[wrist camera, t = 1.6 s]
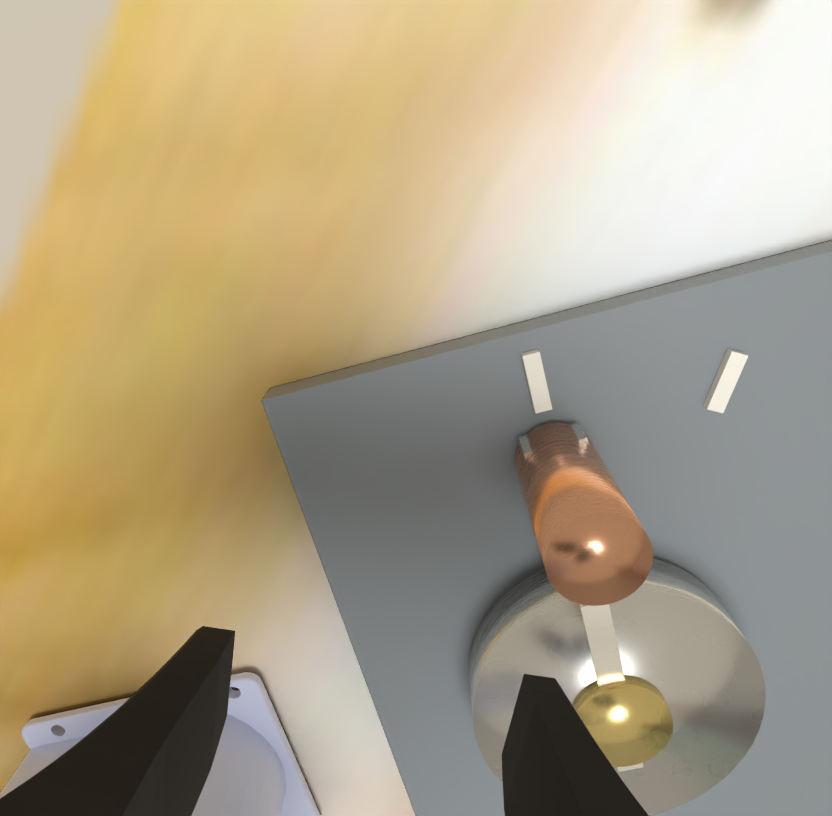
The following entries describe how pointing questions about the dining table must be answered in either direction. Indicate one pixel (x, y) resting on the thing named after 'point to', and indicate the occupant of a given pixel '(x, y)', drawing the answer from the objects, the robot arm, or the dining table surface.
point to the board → (633, 473)
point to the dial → (615, 636)
